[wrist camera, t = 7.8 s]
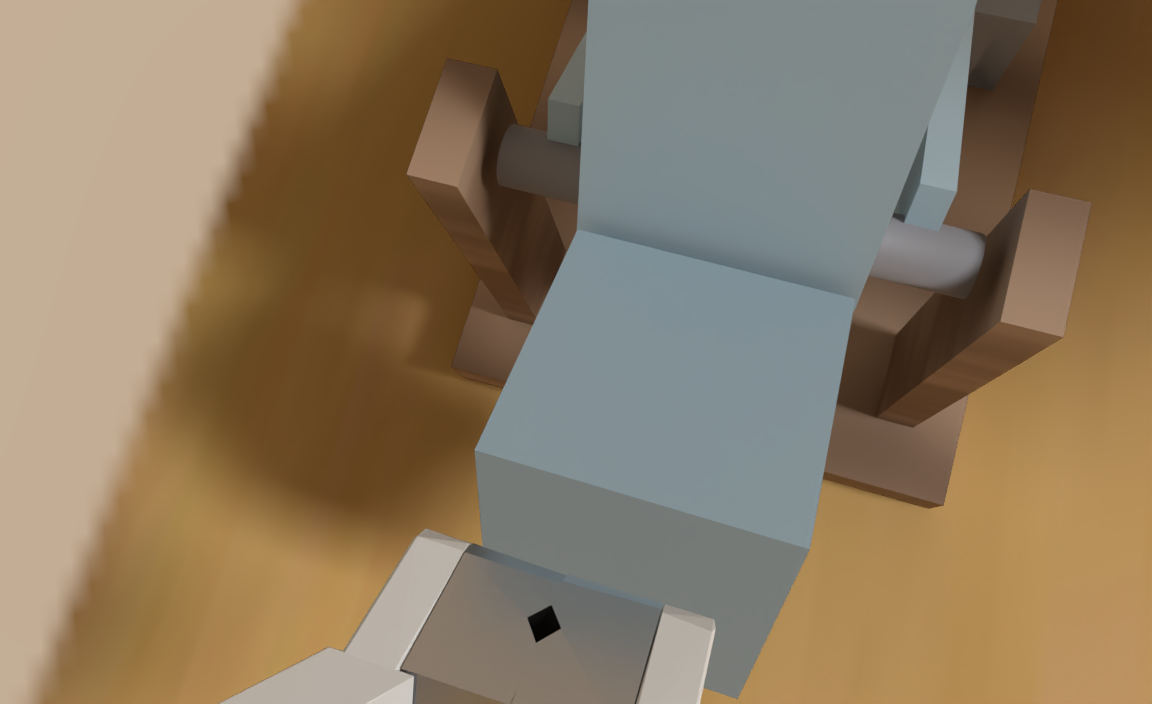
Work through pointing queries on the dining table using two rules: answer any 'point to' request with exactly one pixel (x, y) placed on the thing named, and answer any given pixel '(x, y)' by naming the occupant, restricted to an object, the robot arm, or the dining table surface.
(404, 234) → the dining table surface
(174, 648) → the dining table surface
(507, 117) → the walnut lever base
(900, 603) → the dining table surface
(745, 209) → the tipping lever
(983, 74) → the bin
